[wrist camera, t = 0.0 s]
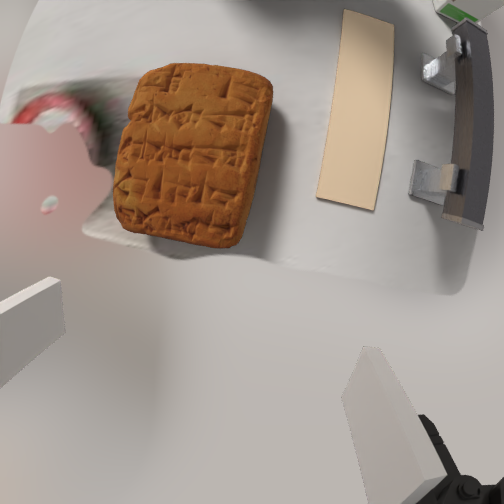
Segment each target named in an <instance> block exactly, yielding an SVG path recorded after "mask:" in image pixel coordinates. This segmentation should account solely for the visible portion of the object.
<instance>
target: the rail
mask: <svg viewBox="0 0 504 504" xmlns="http://www.w3.org/2000/svg"><path fill="white" fill-rule="evenodd" d="M451 29H452V33H453V35H454V34H456V35H458V36H459V37H460V42H461V52H462V54H461V55H460V56H458V57H456V58H455V78H456V104H455V127H454V140H453V151H452V160H451V164H456V165H458V166H459V171H458V178H457V185H456V191H455V192H448V191H447V194H446V199H445V205H444V210H443V213H442V216H441V218H443V219H446V220H449V221H452V222H455V223H458V224H461V225H464V226H468V227H471V228H475V229H478V230H481V231H483V228H484V226H483V220H484V214H485V209H486V203H487V197H488V190H489V183H490V175H491V165H492V153H493V134H494V100H493V82H492V70H491V62H490V55H489V54H490V53H489V46H488V40H487V34H488V33H487V30H485V29H484V28H482V27H481V26H479V25H478V24H476V23H475V22H473V21H472V20H470V19H469V18H467V17H466V18H464V19H463V20H462V21H460V22H459V23H458V24H456V25H455V26H454V27H452V28H451Z"/></svg>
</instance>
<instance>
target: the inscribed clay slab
mask: <svg viewBox="0 0 504 504" xmlns="http://www.w3.org/2000/svg"><path fill="white" fill-rule="evenodd" d="M272 100H273V86H272V84H271V82H270V81H269V80H268V79H266V78H265V77H263V76H261V75H259V74H256V73H253V72H250V71H246V70H241V69H236V68H230V67H224V66H218V65H213V66H212V65H208V64H195V63H172V64H169V65H166V66H164V67H161V68H157V69H155V70H151V71H149V72H147V73H146V74H145V75H144V76H143V77H142V78H141V79H140V80H139V83H138V85H137V88H136V90H135V93H134V96H133V99H132V102H131V104H130V106H129V108H128V118H129V119H130V120H131V121H130V123H129V124H128V125H127V126H126V127H125V128H124V130H123V132H122V136H121V142H120V146H119V150H118V155H117V161H116V167H115V179H114V186H113V200H114V211H115V213H116V217H117V219H118V220H119V222H120V223H121V225H122V227H123V228H124V229H126V230H127V231H130V232H133V233H141V234H147V235H151V236H157V237H162V238H166V239H171V240H176V241H181V242H186V243H189V244H194V245H200V246H206V247H210V248H230V247H231V246H234V245H237V244H238V243H239V241H240V239H241V238H242V235H243V232H244V228H245V225H246V220H247V218H248V215H249V211H250V208H251V204H252V200H253V196H254V192H255V188H256V183H257V177H258V172H259V167H260V160H261V155H262V149H263V145H264V140H265V135H266V130H267V125H268V120H269V115H270V110H271V105H272Z"/></svg>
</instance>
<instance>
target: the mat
mask: <svg viewBox="0 0 504 504" xmlns="http://www.w3.org/2000/svg"><path fill="white" fill-rule="evenodd" d="M393 57H394V25H393V24H390V23H387V22H385V21H382V20H379V19H376V18H373V17H370V16H367V15H364V14H361V13H357V12H354V11H351V10H347V9H344V12H343V22H342V32H341V41H340V50H339V58H338V66H337V73H336V81H335V88H334V95H333V102H332V108H331V115H330V121H329V127H328V133H327V139H326V145H325V151H324V156H323V162H322V167H321V173H320V178H319V183H318V188H317V193H316V197H319V198H324V199H328V200H332V201H337V202H341V203H345V204H349V205H353V206H358V207H362V208H366V209H370V210H374V205H375V201H376V196H377V191H378V185H379V180H380V174H381V168H382V162H383V156H384V150H385V143H386V136H387V128H388V120H389V111H390V101H391V89H392V76H393Z"/></svg>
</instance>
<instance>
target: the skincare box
mask: <svg viewBox="0 0 504 504" xmlns="http://www.w3.org/2000/svg"><path fill="white" fill-rule="evenodd" d="M433 4H434V8H435V11H436V12H437V13H439V14H442V15H444V16H446V17H448V18H450V19H452V20H454V21H456V22H458V23H459V22H460V21H462V20H463V19H464V18H466V17H467V18H469V19H470V20H472V21H473V22H475V23H478V22H479V21H481V20H482V19H484V18H485V17H486V16H488V15H490V14H491V13H493V12H494V11H496V10H497V9H499V8H500V7H502V6H503V5H504V0H433Z"/></svg>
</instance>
